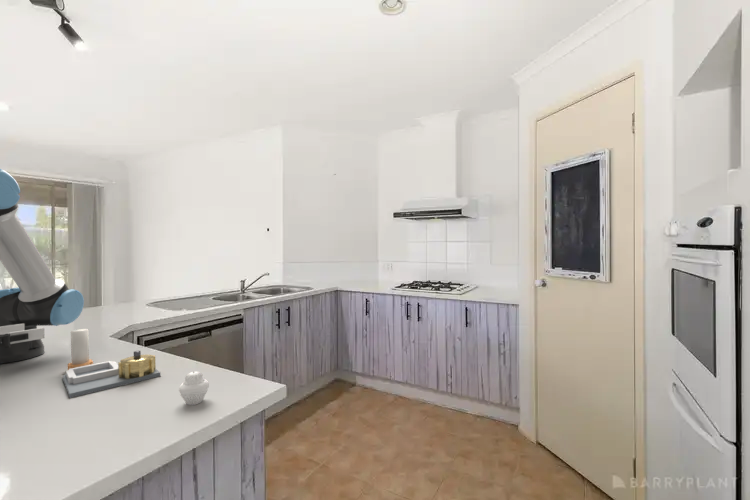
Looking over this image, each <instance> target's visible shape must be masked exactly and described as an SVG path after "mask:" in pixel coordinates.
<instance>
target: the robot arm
mask: <svg viewBox="0 0 750 500" xmlns="http://www.w3.org/2000/svg"><path fill="white" fill-rule="evenodd" d="M20 193H21V189H20V185H19V184H18V182H17V180H16V179H15V177H13V176H12V175H11V174H10V173H9V172H8V171H6V170H4V169H2V168H0V262H1V264H2V265H3V266H4V268H5V270H6V271H7V272H8V274H9V275H10V277H11V279H12V280H13V281H14V283H15V285H16V286H17V287H12V288H4V289H0V365H1V364H6V363H15V362H19V361H24V360H29V359H32V358H37V357H39V356H41V355H43V354H44V353H45V345H44V342H43V340H44V339H45V326H51V327H52V326H54V327H55V326H56V327H57V326H65V325H69V324H72V323H73V322H75V321H76V320H77V319H79V317H80V316H81V313H82V312H83V308H84V306H85V304H84V303H85V299H84V295H83V293H81V291H79V290H77V289H74V288H72V289H71V288H70V289H69V288H68V286H67V285H66V283H65V281H64V280H63V279H60V278H56V277H55V276H54V274H53V273H52V271H51V269H50V268H49V266H48V264H47V263H46V261H45V259H44V258H43V256H42V254H40V253H41V252H39V250H38V248H37V247H36V245H35V243H34V242H33V240H32V239H31V237H30V235H29V234H28V232H27V230H26V229H25V227H24V225H23V224H22V222H21V220H20V219H19V217H18V216H17V214H16V213H17V211H18V210H19V208H20V207H19V205H18V202H19V201H20V198H21V196H20V195H19V194H20ZM38 326H41V327H38ZM42 326H43V327H42ZM42 339H43V340H42Z"/></svg>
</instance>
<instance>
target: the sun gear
mask: <svg viewBox="0 0 750 500" xmlns="http://www.w3.org/2000/svg"><path fill="white" fill-rule="evenodd" d="M141 353H142V352H141V350H135V351H133V355H132V356H129V357H126V358H122V359H120V361H119V362H118V363H117V364H118V370H119V378H120V377H121V378H125V379H129V378H137V377H142V376H145V375H148V374H151V373H153V372H154V370H155V369H157V368H156V355H153V354H141Z"/></svg>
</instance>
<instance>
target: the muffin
mask: <svg viewBox="0 0 750 500" xmlns="http://www.w3.org/2000/svg"><path fill="white" fill-rule="evenodd" d="M209 387H210V382H209V381H208V380H207V379H205V377H204V376H203V373H202V372H201V371H191V372H189V373H187V374H186V375H185V377H184V380H183V381H182V383H181V384H180V385H179V387H178V391H179V393H180V396H181V398H182V399H183V400H184V402H185V403H186V405H188V406H194V405H198V404H201V403H202V402H203V400H204V399H205V396H206V394H207V393H208V389H209Z"/></svg>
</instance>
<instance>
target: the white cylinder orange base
mask: <svg viewBox="0 0 750 500" xmlns="http://www.w3.org/2000/svg"><path fill="white" fill-rule="evenodd" d="M89 335H90V334H89V329H88V328H80V329H73V330H70V349H71V350H70V351H71V357H70V358H71V362H69V363H67V370H69V369H71V368H76V367H81V366H86V365H91V364H94V361H93V359H91V358H90V345H89V343H90V342H89V341H90V339H89Z"/></svg>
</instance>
